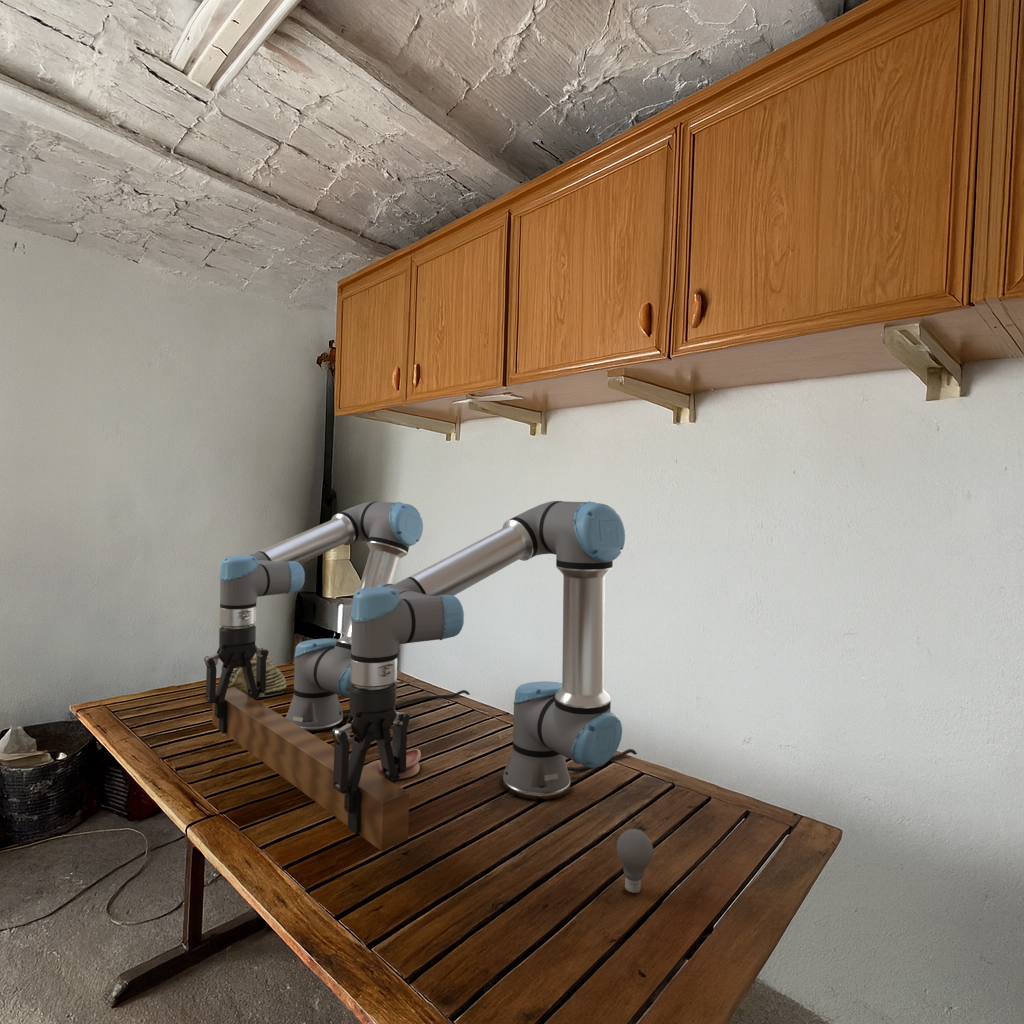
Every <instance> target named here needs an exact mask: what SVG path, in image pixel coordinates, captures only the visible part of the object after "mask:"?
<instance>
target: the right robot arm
mask: <svg viewBox="0 0 1024 1024" xmlns="http://www.w3.org/2000/svg"><path fill="white" fill-rule="evenodd" d="M625 543H626V529H625V525H624V522H623V520H622V518H621V516H620V515H619V514H618V512H616V509H615V508H613V507H611V506H610V505H608V504H605V503H600V502H596V501H590V500H589V501H566V500H565V501H563V500H551V501H547V502H544V503H540V504H539V505H536V506H534V507H531V508H529V509H527V510H525V511H523V512H521V513H518V514H517V515H515V516H514V517H512V518H509V519H507V520H506V521H505V522H504V523H503V524H502V528H501V529H499V530H497V531H494V532H493V533H491V534H489V535H487V536H484V537H483V538H481V539H479V540H477V541H475V542H473V543H472V544H470V545H467V546H466V547H464V548H462V549H460V550H458V551H456V552H454V553H452V554H450V555H449V556H447V557H444V558H443V559H440V560H439V561H437V562H435V563H434V564H431V565H429V566H428V567H426V568H423V569H422V570H420V571H418V572H416V573H414V574H412V575H410V576H409V577H406V578H404V579H402V580H400V581H398V582H396V583H393V584H380V585H378V586H376V587H367V588H362V589H359V588H358V589H357V590H356V591H355V592H354V594H353V597H352V603H351V613H352V614H351V613H350V616H351V663H350V682H351V683H352V685H351V686H350V696H349V698H348V699H349V700H348V701H349V703H348V705H349V706H348V707H349V710H350V713H349V717H348V719H347V723H346V724H344V725H343V726H341V727H340V728H338V727H335V728H333V729H331V735H332V738H333V742H334V748H335V749H334V774H333V787H334V788H335V789H336V790H338V791H339V792H341V793H342V794H344V793H345V794H344V809H345V811H347V812H348V826H347V829H349V830H350V831H351V832H353V833H354V834H356V835H359V834H358V833H361V801H362V792H360V791H359V790H358V786H359V782H360V778H361V773H362V769H363V765H364V766H365V761H366V756H367V752H368V751H369V750H370V747H371V744H372V743H374V742H375V741H376V745H377V751H378V756H379V760H380V761H381V766H382V771H383V774H384V775H385V777H384V778H386V779H387V780H389V781H391V782H392V783H394V784H396V782H398V781H399V780H400V779H399V778H400V776H399V775H398V774H400V773H404V772H405V771H406V751H407V748H408V747H407V746H408V745H407V744H408V743H407V742H408V741H407V740H408V726H409V723H410V720H411V716H410V714H408V713H406V712H403V711H401V710H398V711H397V710H396V708H395V706H396V704H397V694H398V693H397V691H398V687H397V684H396V681H397V680H398V657H399V645H405V644H414V643H422V642H429V641H430V642H431V641H442V640H446V639H449V638H454V637H457V636H458V635H459V634H460V633H461V631H462V630H463V627H464V624H465V623H464V622H465V612H464V611H465V610H464V608H463V605H462V603H461V601H460V599H459V598H458V597H456V595H458V594H460V593H463V591H465V590H467V589H469V588H471V587H473V586H474V585H476V584H478V583H479V582H481V581H484V580H486V579H487V578H489V577H490V576H492V575H494V574H496V573H498V572H499V571H501V570H503V569H504V568H506V567H508V566H510V565H512V564H514V563H515V562H517V561H522V562H525V561H528V560H530V559H532V558H534V557H537V556H542V555H555V557H556V558H555V559H556V560H555V567H556V569H557V570H559V572H560V573H561V574H562V576H563V577H562V579H563V581H562V582H563V587H562V664H561V665H562V666H561V667H562V669H561V671H562V675H561V676H562V677H561V678H562V679H561V682H558V681H549V680H547V681H546V680H545V681H543V680H542V681H531V682H526V683H523V684H520V685H518V686H517V688H516V689H515V692H514V700H513V718H512V721H513V722H512V724H513V725H512V748H511V752H510V754H509V758H508V760H507V763H506V766H505V769H504V771H503V774H502V786H503V787H504V789H505V791H507V792H509V793H510V794H511V795H513V796H516V797H518V798H522V799H527V800H532V801H549V800H550V801H551V800H555V799H559V798H562V797H563V796H566V794H568V793H569V792H570V789H571V776H570V773H569V771H570V772H581V771H584V770H588V769H596V768H599V767H602V766H604V765H606V764H607V763H608V762H609V761H612V760H616V759H619V758H623V757H624V756H626V755H628V754H630V753H631V754H633V755H637V754H638V752H637V751H636V750H635V749H633V748H629V749H626V750H623V751H622V752H620V753H617V754H615V753H616V752H617V750H618V749H619V746H620V744H621V741H622V737H623V725H622V722H621V720H620V719H619V717H618V715H616V714H614V713H613V712H611V711H612V710H611V706H612V705H611V704H612V703H611V702H612V700H611V699H612V698H611V696H610V694H609V693H608V692H607V691H606V690H605V689H604V683H605V681H604V680H605V679H604V675H605V673H604V672H605V613H606V611H605V609H606V608H605V607H606V605H605V604H606V602H605V600H606V599H605V598H606V597H605V596H606V576H607V574H609V572H611V571H612V570H613V568H614V567H613V565H614V564H613V563H614V560H617V558H619V557H620V555H621V554H622V550H623V549H624V547H625ZM391 727H392V735H391V730H390V729H391ZM351 733H352V739H351ZM350 740H351V745H352V747H351V751H350ZM391 742H392V743H391ZM349 757H350V759H349ZM566 758H567V759H569V760H571V761H572V762H573V763H574V764H577V765H581V766H567V761H566ZM382 777H383V776H382Z"/></svg>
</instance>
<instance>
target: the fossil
mask: <svg viewBox="0 0 1024 1024" xmlns="http://www.w3.org/2000/svg"><path fill="white" fill-rule="evenodd" d="M256 660H257V657H256V653H255V655H254V656H253V658H252V659H251V665H252V672H253V676H254V680H255V684H256ZM233 687H235V688H236V689H238V690H240V691H241V692H243V693H245V694H246V695H249V693H248V689H247V685H246V681H245V678H244V674H243V670H242V668H241V667H237V668H234V670H233V673H232V674H231V677H230V681H229V685H228V688H233ZM287 687H288V686H287V680H286V678H285V676H284V674H283V673H282V672H281V669H279V668H278V667H277V665H276V663H275V662H274V660H273V659H272V658H271V657H270V656H269V655H268V656H267V659H266V691H265V692H264V693H261V694H259V697H258V698H264V697H271V696H275V695H281V694H284V693H285V691H286V689H287ZM228 688H227V689H228Z"/></svg>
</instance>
